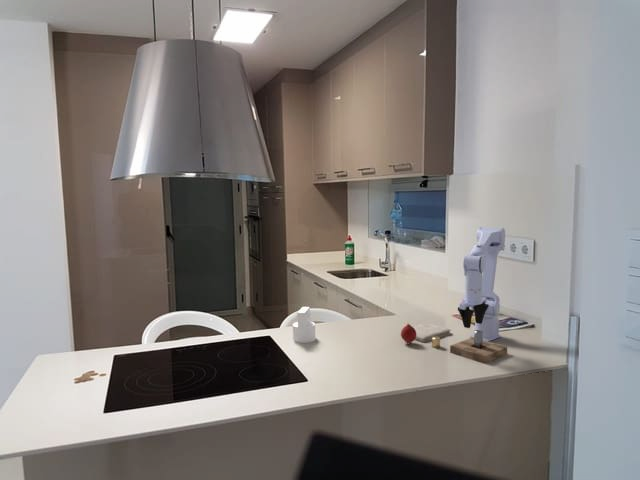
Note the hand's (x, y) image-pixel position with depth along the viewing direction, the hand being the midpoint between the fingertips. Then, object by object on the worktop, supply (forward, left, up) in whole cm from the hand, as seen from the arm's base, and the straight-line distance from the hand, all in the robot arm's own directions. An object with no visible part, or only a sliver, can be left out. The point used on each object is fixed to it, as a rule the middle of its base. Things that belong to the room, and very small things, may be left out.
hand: (472, 325), depth 162 cm
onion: (+12, -20, -10) cm, 25 cm away
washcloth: (-2, -23, -10) cm, 25 cm away
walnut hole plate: (+1, +3, -10) cm, 10 cm away
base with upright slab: (+39, -51, -10) cm, 65 cm away
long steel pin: (+1, +3, -10) cm, 10 cm away
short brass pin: (+7, -11, -10) cm, 16 cm away
